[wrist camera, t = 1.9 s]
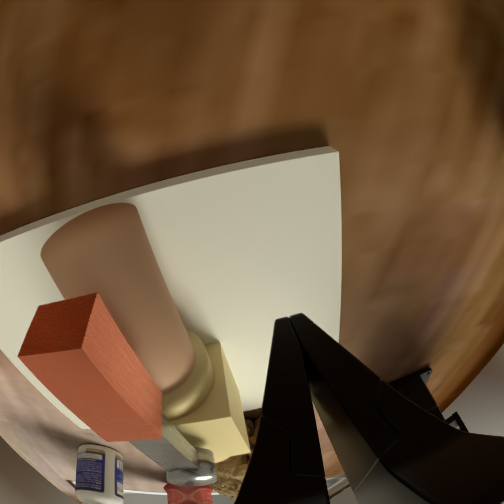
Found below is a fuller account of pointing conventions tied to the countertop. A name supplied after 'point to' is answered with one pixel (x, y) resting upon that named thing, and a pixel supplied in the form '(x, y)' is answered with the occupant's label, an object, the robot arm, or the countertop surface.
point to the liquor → (188, 494)
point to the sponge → (235, 466)
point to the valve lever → (108, 385)
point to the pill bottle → (99, 475)
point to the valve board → (192, 280)
